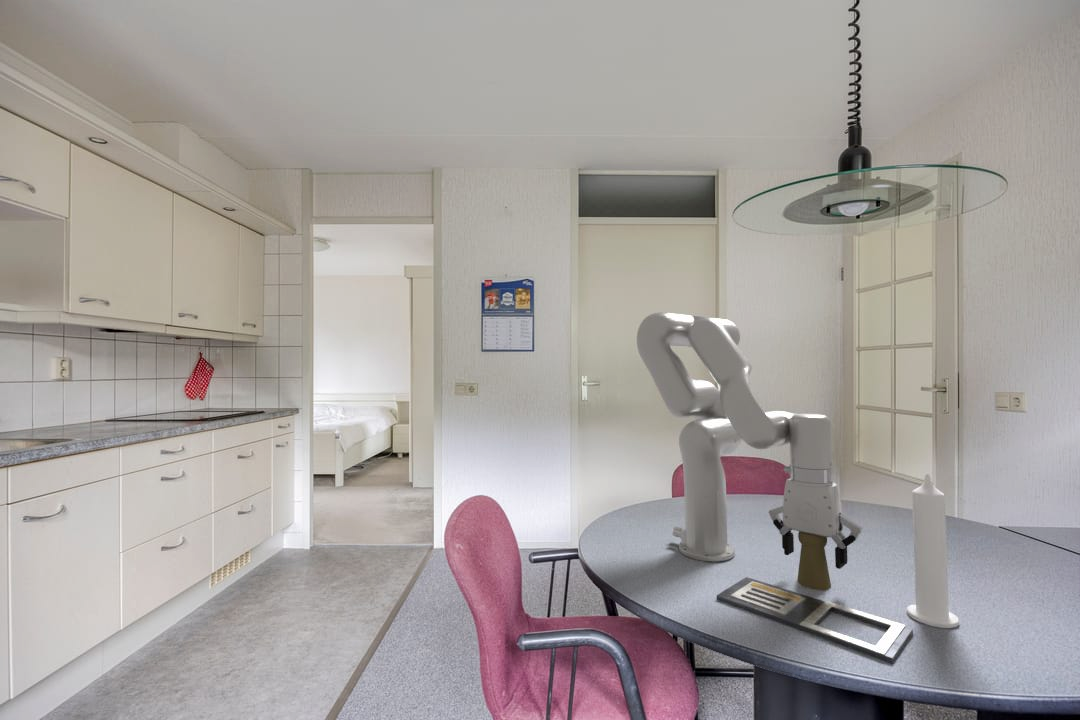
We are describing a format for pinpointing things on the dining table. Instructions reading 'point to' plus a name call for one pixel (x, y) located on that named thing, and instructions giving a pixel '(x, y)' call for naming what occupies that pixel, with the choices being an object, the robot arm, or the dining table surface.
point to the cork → (813, 562)
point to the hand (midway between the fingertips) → (813, 559)
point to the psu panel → (814, 616)
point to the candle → (930, 558)
